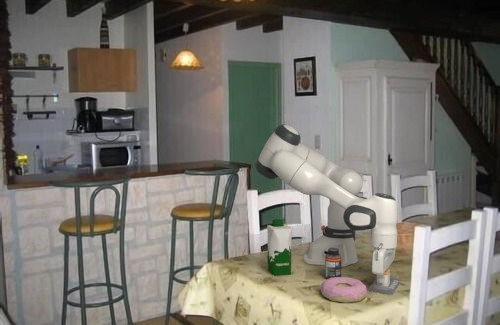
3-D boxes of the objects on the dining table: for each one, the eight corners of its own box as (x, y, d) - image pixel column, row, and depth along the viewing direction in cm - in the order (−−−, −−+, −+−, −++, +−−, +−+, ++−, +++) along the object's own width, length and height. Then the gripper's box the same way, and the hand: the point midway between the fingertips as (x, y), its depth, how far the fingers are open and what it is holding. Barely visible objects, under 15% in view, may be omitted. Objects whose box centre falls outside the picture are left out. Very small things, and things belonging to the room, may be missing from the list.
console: (378, 279, 187) (378, 273, 187) (400, 282, 183) (400, 276, 183) (369, 291, 175) (369, 284, 174) (392, 294, 171) (392, 288, 171)
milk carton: (286, 268, 201) (286, 218, 199) (294, 275, 192) (294, 223, 191) (265, 270, 199) (265, 219, 197) (272, 277, 190) (272, 224, 188)
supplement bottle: (330, 275, 192) (330, 245, 191) (344, 278, 188) (344, 248, 187) (322, 279, 188) (322, 249, 187) (336, 282, 184) (336, 251, 183)
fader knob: (378, 282, 179) (379, 268, 178) (389, 284, 177) (390, 269, 176) (376, 286, 175) (376, 271, 175) (387, 287, 173) (387, 272, 173)
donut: (342, 308, 159) (343, 293, 159) (311, 294, 172) (311, 280, 172) (377, 298, 168) (377, 284, 168) (344, 286, 181) (344, 272, 180)
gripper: (387, 249, 164) (386, 290, 165) (398, 235, 182) (397, 273, 183) (367, 246, 167) (366, 287, 168) (381, 233, 185) (380, 270, 186)
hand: (383, 279), depth 176 cm, fingers closed on fader knob, 3 cm apart
